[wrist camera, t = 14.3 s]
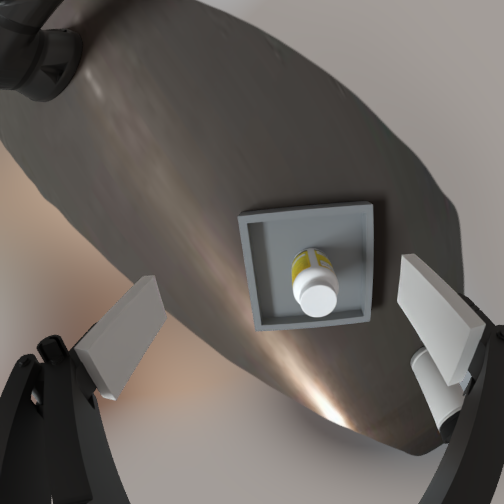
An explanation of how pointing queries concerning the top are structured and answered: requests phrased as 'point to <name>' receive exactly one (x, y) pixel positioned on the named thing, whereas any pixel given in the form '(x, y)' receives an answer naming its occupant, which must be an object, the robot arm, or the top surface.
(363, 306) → the tray
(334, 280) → the supplement bottle
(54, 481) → the robot arm
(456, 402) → the travel mug
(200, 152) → the top surface
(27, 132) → the top surface
